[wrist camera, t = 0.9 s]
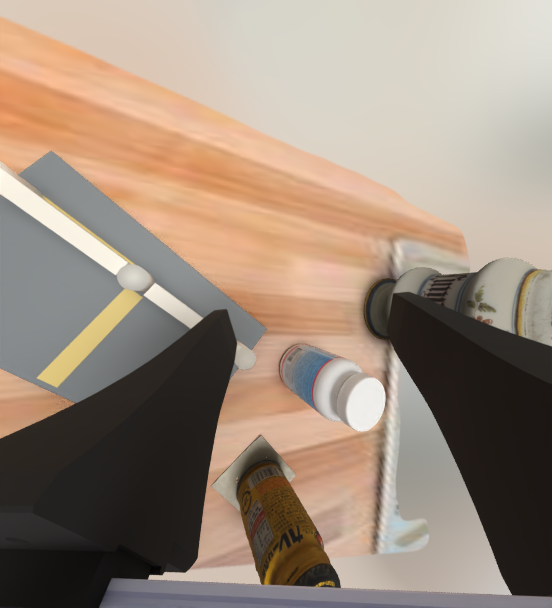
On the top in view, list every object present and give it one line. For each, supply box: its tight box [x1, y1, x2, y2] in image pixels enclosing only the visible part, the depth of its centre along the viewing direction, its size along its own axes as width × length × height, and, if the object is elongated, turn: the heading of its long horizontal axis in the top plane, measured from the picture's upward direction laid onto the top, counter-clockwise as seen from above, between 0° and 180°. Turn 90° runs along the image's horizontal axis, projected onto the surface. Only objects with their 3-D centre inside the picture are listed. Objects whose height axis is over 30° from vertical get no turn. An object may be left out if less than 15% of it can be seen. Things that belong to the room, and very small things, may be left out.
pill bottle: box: [280, 344, 385, 431], centre depth 23 cm, size 6×6×11 cm
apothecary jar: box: [364, 258, 552, 346], centre depth 27 cm, size 12×12×18 cm
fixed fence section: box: [0, 161, 155, 292], centre depth 16 cm, size 12×2×6 cm, turn 51°
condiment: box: [212, 436, 341, 588], centre depth 21 cm, size 7×8×12 cm
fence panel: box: [144, 283, 256, 370], centre depth 20 cm, size 10×2×6 cm, turn 51°
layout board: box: [0, 151, 267, 403], centre depth 20 cm, size 16×24×1 cm, turn 51°
